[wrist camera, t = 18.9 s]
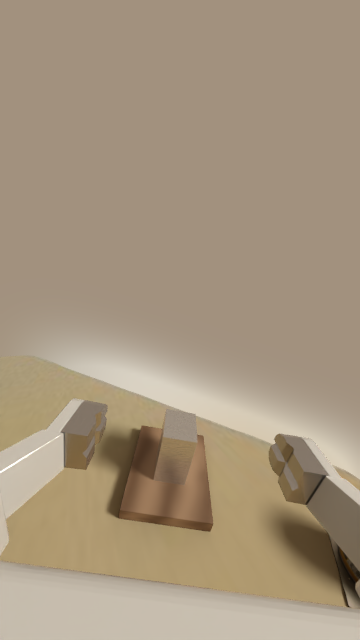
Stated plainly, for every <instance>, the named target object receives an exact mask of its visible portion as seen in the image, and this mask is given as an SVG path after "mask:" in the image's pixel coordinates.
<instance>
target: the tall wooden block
mask: <svg viewBox="0 0 360 640" xmlns="http://www.w3.org/2000/svg"><path fill="white" fill-rule="evenodd" d="M197 443H198V442H197V429H196V416H195V414H192V413H186V412H180V411H174V410H169V409H166V413H165V418H164V423H163V427H162V432H161V437H160V441H159V446H158V452H157V459H156V466H155V473H154V480H155V481H162V482H168V483H174V484H181V485H185V482H186V479H187V476H188V472H189V469H190V466H191V463H192V459H193V456H194V453H195V449H196V446H197Z"/></svg>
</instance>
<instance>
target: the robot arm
mask: <svg viewBox="0 0 360 640" xmlns="http://www.w3.org/2000/svg"><path fill="white" fill-rule="evenodd" d="M106 412H107V405H106V404H101V403H96V402H91V401H86V400H80V399H75V398H74V399H72V400H71V401H70V402H69V403H68V404H67V405H66V407H65V408H64V409H63V410H62V411H61V412H60V414H59V415H58V416H57V417H56V418H55V420H54V421H53V422H52V423H51V424H50V425H49V427H48V428H47V429H46V430H40V431H38V432H36V433H35V434H33V435H31V436H29V437H27V438H25V439H23V440H22V441H20V442H18V443H16V444H14V445H12V446H10V447H9V448H7V449H5V450H3V451H1V452H0V555H1V553H2V552H3V550H4V548H5V547H6V545H7V544H8V542H9V533H8V527H7V522H6V519H7V518H8V517H9V516H10V515H11V514H13V513H14V512H15V511H16V510H17V509H18V508H19V507H21V506H22V505H23V504H24V503H25V502H26V501H27V500H29V499H30V498H31V497H32V496H33V495H34V494H35V493H37V492H38V491H39V490H40V489H41V488H42V487H44V486H45V485H46V484H47V483H48V482H49V481H50V480H52V479H53V478H54V477H55V476H56V475H57V474H58V473H60V472H61V471H62V470H63V469H64V467H66V468H74V469H83V470H86V469H87V467H88V465H89V462H90V460H91V458H92V456H93V454H94V450H95V445H96V444H97V443H99V442H100V440H101V437H102V435H103V432H104V429H105V426H106V417H105V414H106ZM275 442H276V443H275V444H274V445H272V446H271V447H270V450H269V461H270V465H271V467H272V469H273V471H274V472H275V473H276V474H277V475H278V476H279V478H278V483H279V485H280V488H281V490H282V492H283V495H284V497H285V499H286V501H288V502H293V503H299V504H304V505H307V506H306V507H307V508H308V509H309V510H310V512H311V513H312V514H313V515H314V516H315V518H316V519H317V520H318V521H319V523H320V524H321V525H322V526H323V527H324V529H325V530H326V531H327V532H328V534H329V535H330V536H331V537H332V538H333V540H334V541H335V542H336V543H337V545H338V546H339V547H340V548H341V549H342V551H343V552H344V553H345V554H346V556H347V557H348V558H349V559H350V560H351V562H352V563H353V564H354V565H355V567H356V568H357V569H358V570H359V571H360V491H359V490H358V489H357V488H356V487H354V486H353V485H352V484H351V483H349V482H348V481H347V480H346V479H342V478H341V477H340V475H339V474H338V473H337V471H336V470H335V469H334V467H333V466H332V465H331V463H330V462H329V461H328V459H327V458H326V457H325V455H324V454H323V453H322V451H321V450H320V449H319V447H318V446H317V445H316V443H315V442H314V441H313V440H311V439H309V438H302V437H297V436H290V435H284V434H278V435H276V437H275ZM355 589H356V591H357V593H358V595H359V597H360V580H359V581H358V582H357V583H356V586H355ZM0 640H360V609H358V608H350V607H343V606H336V605H328V604H321V603H313V602H306V601H298V600H291V599H283V598H276V597H269V596H261V595H254V594H246V593H239V592H231V591H224V590H217V589H209V588H202V587H194V586H187V585H179V584H172V583H165V582H157V581H150V580H142V579H135V578H127V577H120V576H112V575H105V574H97V573H90V572H83V571H75V570H68V569H60V568H53V567H45V566H38V565H30V564H23V563H15V562H8V561H1V560H0Z"/></svg>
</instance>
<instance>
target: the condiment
mask: <svg viewBox="0 0 360 640" xmlns="http://www.w3.org/2000/svg"><path fill="white" fill-rule="evenodd" d="M329 537H330V540H331V544H332V548H333V551H334V555H335V558H336V562H337V564H338V568H339V573H340V576H341V580H342V584H343V587H344V590H345V593H346V597H347V601H348V605H349V606H350V607H351V608H358V609H360V597H359V595H358V593H357V591H356V589H355V586H356V583H357V582H358V581H359V580H360V571H359V570H358V569H357V568H356V567H355V565H354V564H353V563H352V562H351V560H350V559H349V558H348V557H347V556H346V554H345V553H344V552H343V551H342V549H341V548H340V547H339V546H338V545H337V543H336V542H335V541H334V540H333V538H332V537H331V536H330V535H329ZM349 578H350V579H349Z"/></svg>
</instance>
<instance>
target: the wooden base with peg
mask: <svg viewBox="0 0 360 640" xmlns="http://www.w3.org/2000/svg"><path fill="white" fill-rule="evenodd" d="M161 432H162V429H159V428H153V427H147V426H142V427H141V431H140V434H139V438H138V442H137V446H136V450H135V454H134V457H133V461H132V465H131V469H130V473H129V476H128V480H127V484H126V488H125V492H124V495H123V499H122V503H121V507H120V511H119V518H121V519H128V520H134V521H141V522H148V523H155V524H162V525H168V526H175V527H182V528H189V529H196V530H202V531H209V532H210V530H211V528H212V526H213V517H212V509H211V500H210V491H209V482H208V473H207V465H206V456H205V447H204V438H203V436H201V435H197V442H198V443H197V446H196V449H195V453H194V456H193V459H192V463H191V466H190V469H189V472H188V476H187V479H186V482H185V485H181V484H174V483H168V482H162V481H155V480H154V473H155V466H156V459H157V452H158V446H159V441H160V437H161Z"/></svg>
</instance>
